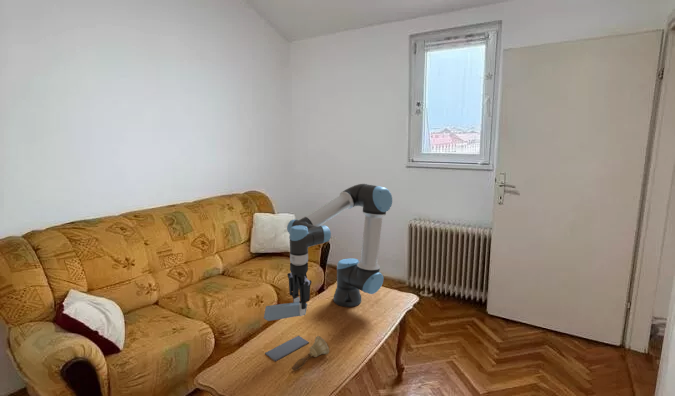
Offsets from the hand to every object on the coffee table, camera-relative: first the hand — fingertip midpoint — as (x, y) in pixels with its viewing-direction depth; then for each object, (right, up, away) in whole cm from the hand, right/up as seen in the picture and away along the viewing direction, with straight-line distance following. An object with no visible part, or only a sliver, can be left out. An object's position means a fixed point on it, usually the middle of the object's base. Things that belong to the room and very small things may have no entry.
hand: (299, 313), depth 160 cm
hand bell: (+10, -11, -6) cm, 16 cm away
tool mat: (-5, -14, -2) cm, 15 cm away
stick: (-5, 0, -6) cm, 8 cm away
